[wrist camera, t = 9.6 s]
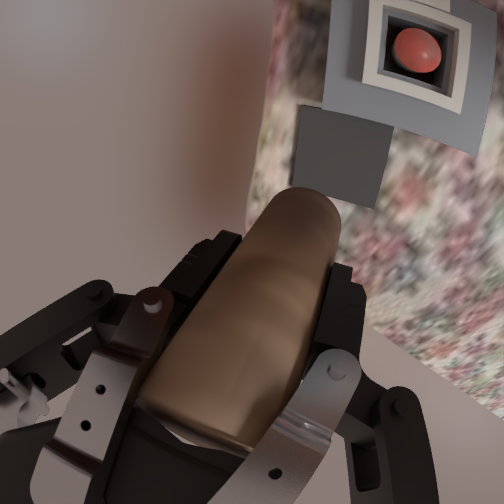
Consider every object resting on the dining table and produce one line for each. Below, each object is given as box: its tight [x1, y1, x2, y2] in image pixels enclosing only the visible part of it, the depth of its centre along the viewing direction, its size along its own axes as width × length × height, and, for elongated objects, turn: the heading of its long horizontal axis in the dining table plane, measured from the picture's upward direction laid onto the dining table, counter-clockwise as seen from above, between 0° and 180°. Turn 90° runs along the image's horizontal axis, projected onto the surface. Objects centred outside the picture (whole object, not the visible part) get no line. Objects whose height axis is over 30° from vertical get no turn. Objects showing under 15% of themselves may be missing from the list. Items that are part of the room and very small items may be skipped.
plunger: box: [391, 28, 441, 73], centre depth 15 cm, size 4×4×4 cm
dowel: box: [135, 187, 341, 459], centre depth 9 cm, size 4×4×10 cm
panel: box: [322, 0, 497, 157], centre depth 15 cm, size 14×14×6 cm
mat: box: [292, 105, 394, 209], centre depth 26 cm, size 9×9×1 cm
